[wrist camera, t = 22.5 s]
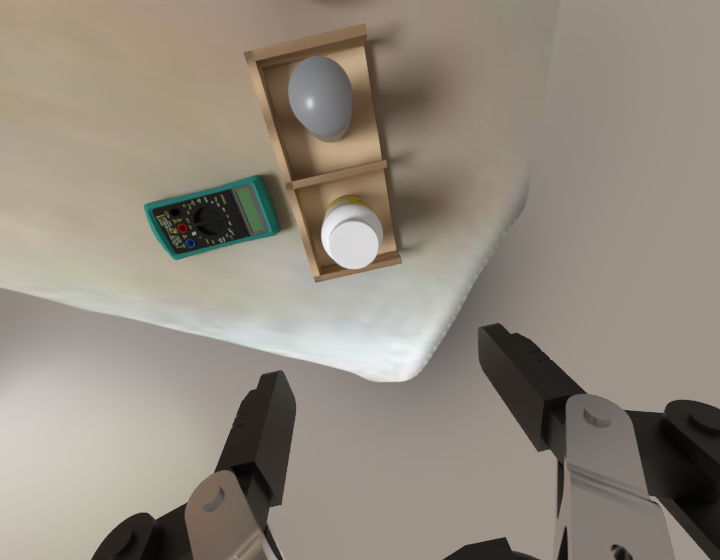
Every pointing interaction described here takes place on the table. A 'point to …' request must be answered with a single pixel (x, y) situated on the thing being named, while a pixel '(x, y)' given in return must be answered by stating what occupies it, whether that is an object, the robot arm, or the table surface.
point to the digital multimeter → (213, 218)
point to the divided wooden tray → (325, 144)
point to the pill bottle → (351, 232)
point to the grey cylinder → (321, 98)
